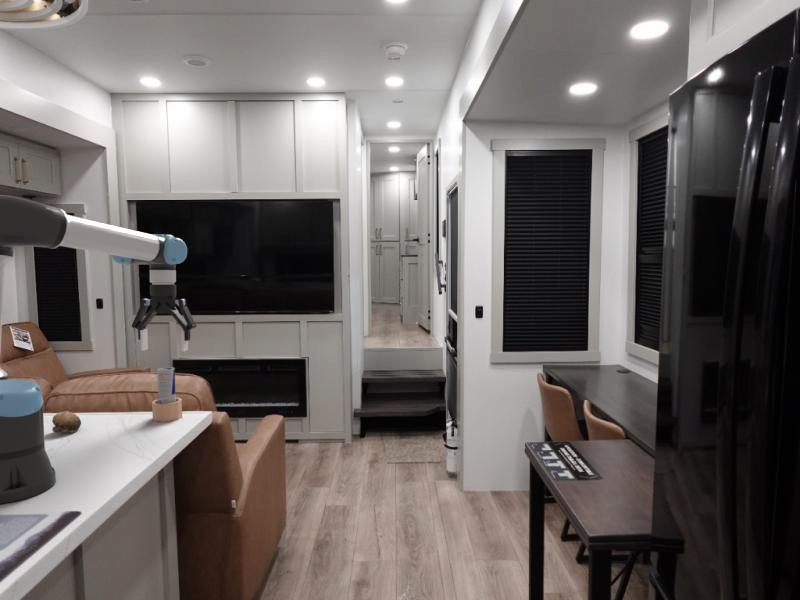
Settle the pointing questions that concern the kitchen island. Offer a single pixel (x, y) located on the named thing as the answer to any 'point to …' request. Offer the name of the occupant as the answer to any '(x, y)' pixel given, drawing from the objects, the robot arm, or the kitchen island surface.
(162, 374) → the beverage can
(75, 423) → the mushroom
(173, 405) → the light orange hollow cylinder
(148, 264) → the robot arm
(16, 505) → the kitchen island surface
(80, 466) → the kitchen island surface
